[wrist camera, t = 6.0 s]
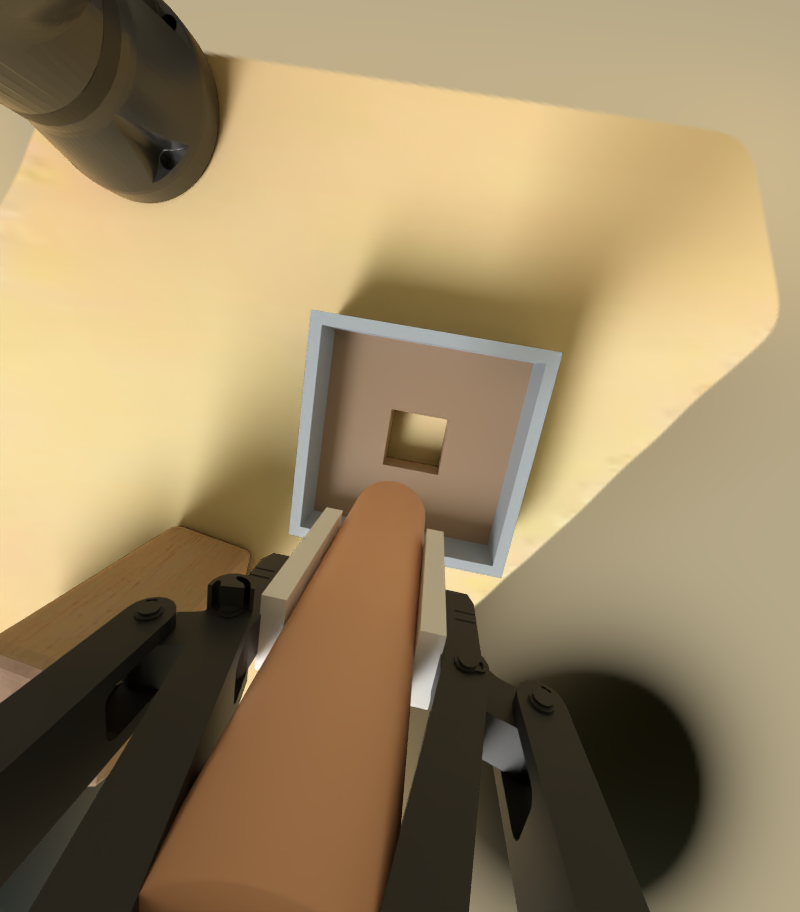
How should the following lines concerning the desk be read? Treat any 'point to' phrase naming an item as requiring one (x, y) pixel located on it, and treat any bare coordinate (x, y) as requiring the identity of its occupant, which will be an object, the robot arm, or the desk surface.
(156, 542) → the wooden block
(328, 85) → the desk surface
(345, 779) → the peg
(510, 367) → the bore box
